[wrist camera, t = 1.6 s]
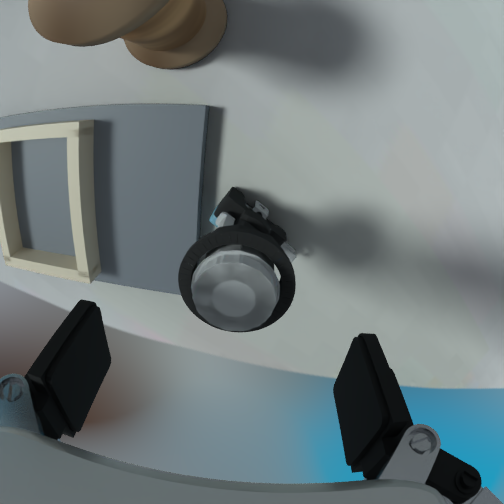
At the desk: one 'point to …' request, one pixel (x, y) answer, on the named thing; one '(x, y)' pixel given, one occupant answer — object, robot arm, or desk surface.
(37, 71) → the desk surface
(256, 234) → the push button
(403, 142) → the desk surface
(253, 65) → the desk surface
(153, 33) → the wooden cabinet knob
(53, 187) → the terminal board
